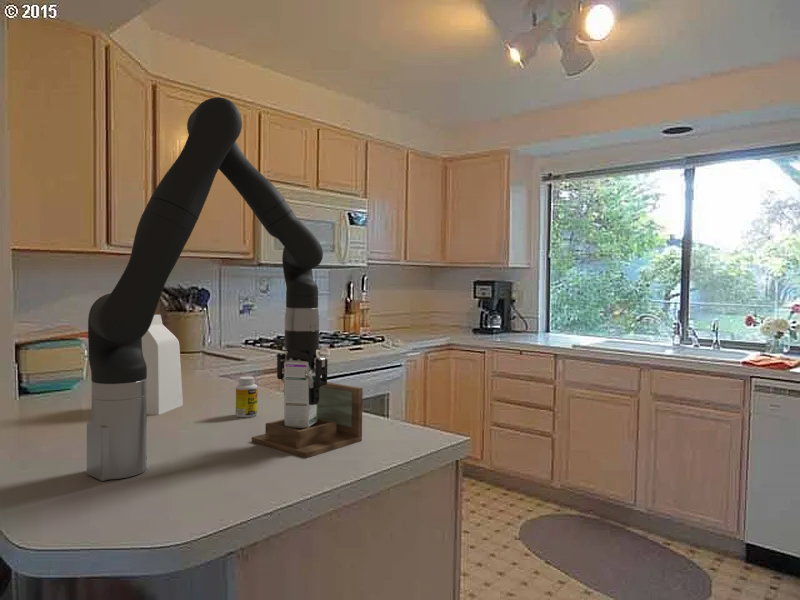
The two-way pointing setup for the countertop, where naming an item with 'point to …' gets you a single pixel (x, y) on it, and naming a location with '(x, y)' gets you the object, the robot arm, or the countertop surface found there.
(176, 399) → the milk
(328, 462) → the countertop surface
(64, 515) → the countertop surface
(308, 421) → the syrup box
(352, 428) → the display stand
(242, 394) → the supplement bottle
